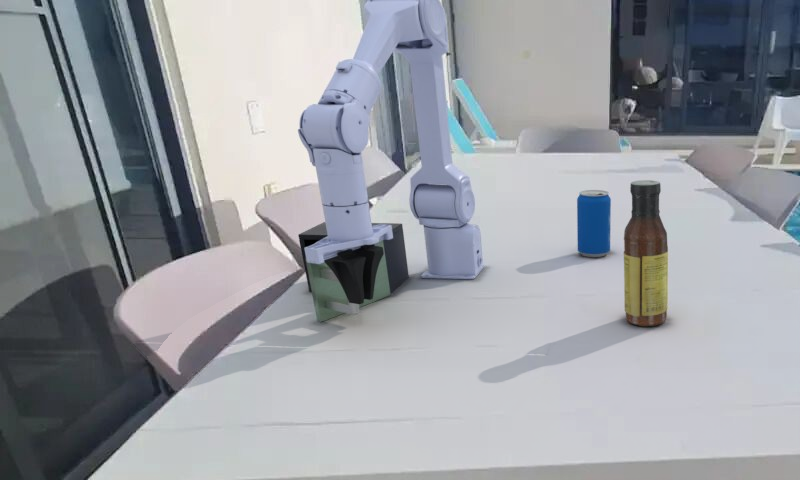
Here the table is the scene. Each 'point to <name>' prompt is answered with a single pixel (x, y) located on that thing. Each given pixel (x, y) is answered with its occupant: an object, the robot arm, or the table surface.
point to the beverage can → (593, 222)
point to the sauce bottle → (645, 258)
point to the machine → (392, 249)
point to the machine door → (341, 290)
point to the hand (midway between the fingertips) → (361, 300)
